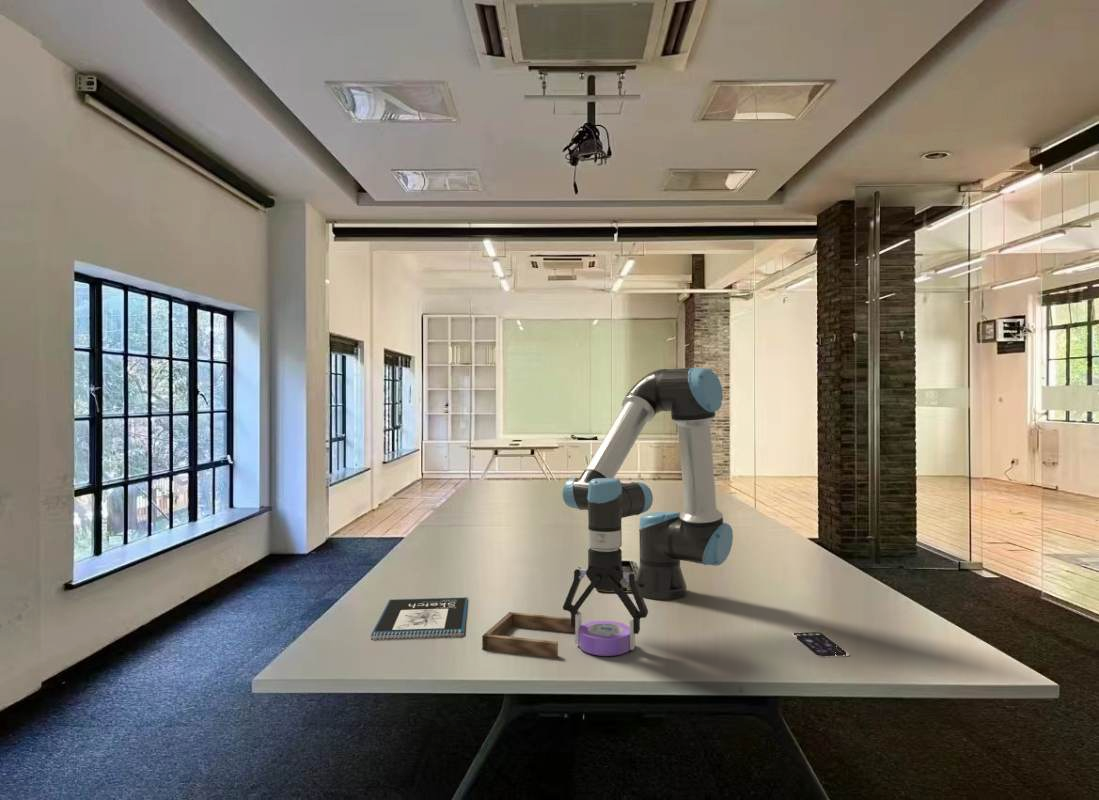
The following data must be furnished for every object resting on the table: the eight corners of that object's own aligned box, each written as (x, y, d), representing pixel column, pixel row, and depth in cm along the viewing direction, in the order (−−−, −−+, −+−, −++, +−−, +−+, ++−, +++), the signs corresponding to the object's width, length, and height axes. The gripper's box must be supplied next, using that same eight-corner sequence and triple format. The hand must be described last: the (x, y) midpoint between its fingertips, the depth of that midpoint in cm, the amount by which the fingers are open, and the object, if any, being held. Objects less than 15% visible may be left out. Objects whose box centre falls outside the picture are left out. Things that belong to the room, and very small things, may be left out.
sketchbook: (467, 602, 185) (467, 594, 185) (463, 640, 155) (463, 631, 155) (389, 603, 183) (389, 596, 183) (370, 642, 153) (370, 633, 153)
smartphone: (820, 631, 158) (852, 655, 143) (820, 634, 158) (852, 658, 143) (789, 632, 158) (818, 656, 143) (789, 635, 158) (818, 659, 143)
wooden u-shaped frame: (576, 631, 159) (576, 618, 159) (556, 657, 143) (556, 643, 143) (509, 624, 164) (509, 612, 164) (482, 649, 148) (482, 635, 148)
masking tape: (629, 657, 142) (629, 639, 142) (575, 654, 144) (575, 636, 144) (632, 638, 153) (632, 621, 153) (582, 635, 155) (582, 619, 155)
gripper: (548, 548, 148) (549, 644, 148) (656, 555, 141) (656, 656, 141) (558, 541, 156) (558, 633, 156) (660, 547, 149) (661, 644, 148)
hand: (605, 644), depth 148 cm, fingers closed on masking tape, 12 cm apart
